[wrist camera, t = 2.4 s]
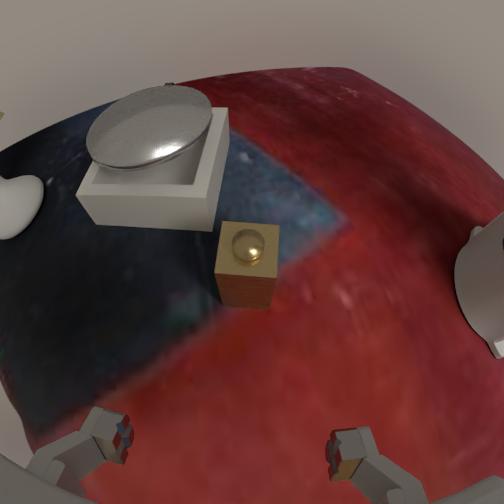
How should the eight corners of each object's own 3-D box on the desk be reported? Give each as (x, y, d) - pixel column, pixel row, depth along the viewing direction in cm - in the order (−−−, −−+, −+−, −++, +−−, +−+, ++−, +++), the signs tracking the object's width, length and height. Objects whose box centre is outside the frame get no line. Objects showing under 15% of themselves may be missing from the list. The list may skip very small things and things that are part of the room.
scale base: (230, 140, 39) (228, 106, 34) (212, 231, 32) (205, 197, 27) (133, 140, 40) (123, 110, 34) (96, 224, 32) (75, 195, 27)
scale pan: (226, 110, 36) (224, 76, 31) (203, 203, 28) (195, 163, 23) (131, 113, 36) (122, 83, 31) (85, 199, 29) (65, 167, 24)
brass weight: (272, 268, 30) (279, 219, 22) (269, 310, 28) (277, 273, 20) (228, 264, 30) (221, 215, 22) (223, 306, 28) (213, 268, 20)
